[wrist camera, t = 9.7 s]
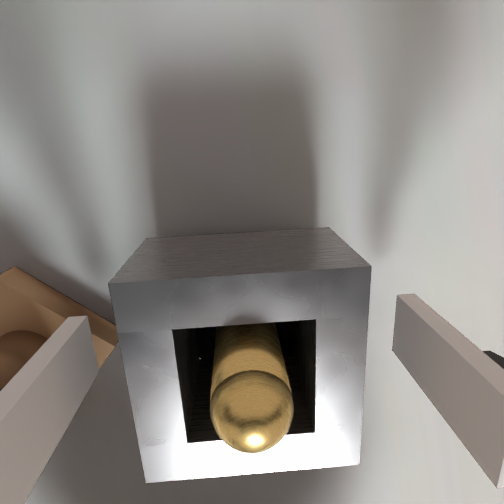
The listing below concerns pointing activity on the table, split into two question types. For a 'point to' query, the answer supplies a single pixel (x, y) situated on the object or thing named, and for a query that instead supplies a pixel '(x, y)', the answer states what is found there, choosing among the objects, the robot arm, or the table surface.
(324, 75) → the table surface
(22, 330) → the brown knob on base
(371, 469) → the table surface
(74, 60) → the table surface
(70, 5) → the table surface
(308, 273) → the grey square box
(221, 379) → the door knob
